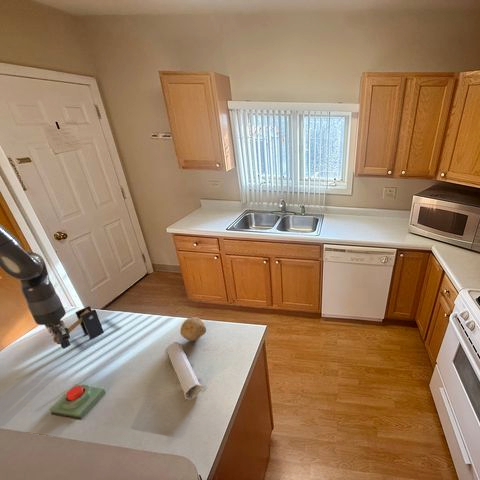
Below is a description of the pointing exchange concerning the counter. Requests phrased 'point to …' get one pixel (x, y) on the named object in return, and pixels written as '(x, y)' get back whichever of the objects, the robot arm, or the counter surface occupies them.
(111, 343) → the counter surface
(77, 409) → the button block
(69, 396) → the button
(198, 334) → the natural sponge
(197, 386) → the tube
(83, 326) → the bracket
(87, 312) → the switch lever
